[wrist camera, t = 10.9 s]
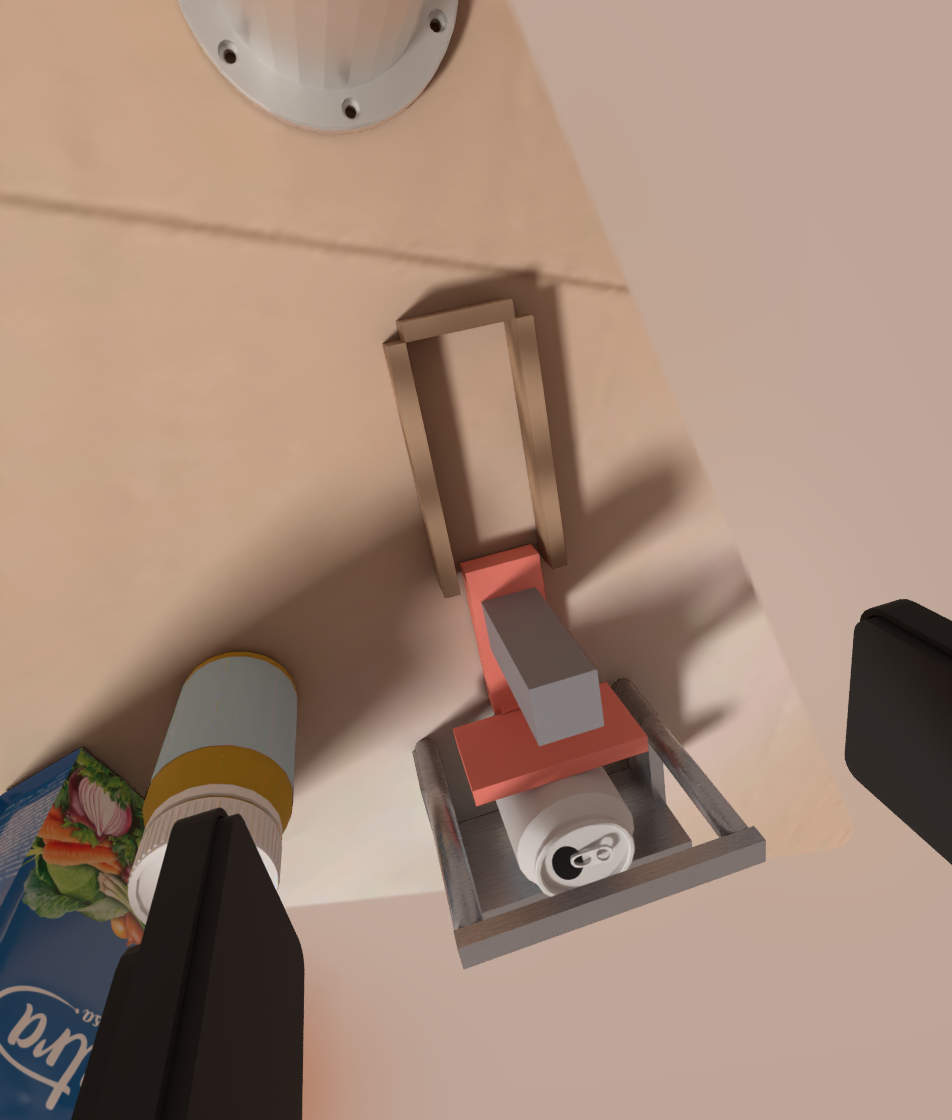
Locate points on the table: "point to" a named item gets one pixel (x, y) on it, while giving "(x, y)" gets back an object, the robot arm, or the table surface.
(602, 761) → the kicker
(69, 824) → the blue food package
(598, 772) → the can
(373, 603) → the table surface
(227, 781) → the bottle
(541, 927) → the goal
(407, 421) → the brown wooden rectangular frame
